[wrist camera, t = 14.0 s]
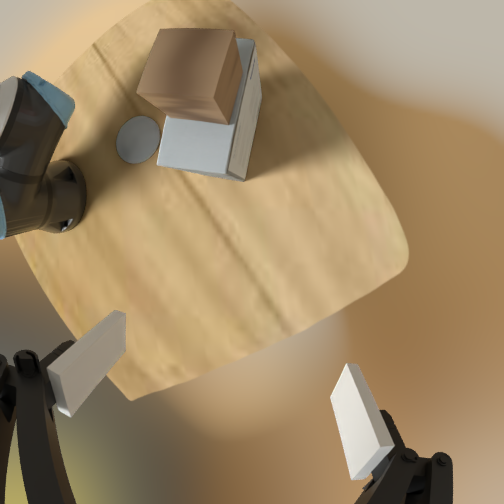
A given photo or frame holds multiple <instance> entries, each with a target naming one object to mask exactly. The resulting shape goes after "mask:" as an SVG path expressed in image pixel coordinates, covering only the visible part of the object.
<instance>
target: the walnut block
mask: <svg viewBox="0 0 504 504" xmlns="http://www.w3.org/2000/svg"><path fill="white" fill-rule="evenodd" d="M242 74H243V70H242V65H241V60H240V55H239V51H238V46H237V41H236V37H235V32H234V30H221V29H200V28H173V29H160V30H159V32H158V35H157V37H156V39H155V42H154V44H153V47H152V49H151V52H150V54H149V57H148V60H147V62H146V65H145V68H144V71H143V73H142V76H141V79H140V82H139V85H138V88H137V91H136V93H137V94H139V95H140V96H141V97H143V98H144V99H146V100H147V101H148V102H150V103H151V104H152V105H154V106H155V107H157V108H158V109H159V110H161V111H162V112H163V113H165V114H166V115H167V116H169V117H170V118H176V119H186V120H194V121H202V122H209V123H216V124H223V125H229V123H230V119H231V115H232V111H233V107H234V104H235V100H236V96H237V92H238V88H239V85H240V81H241V77H242Z"/></svg>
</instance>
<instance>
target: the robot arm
mask: <svg viewBox="0 0 504 504" xmlns="http://www.w3.org/2000/svg"><path fill="white" fill-rule="evenodd" d="M74 109H75V102H74V100H73V98H71V97H70V96H69V95H67V94H66V93H65V92H63V91H62V90H60V89H59V88H57V87H55V86H54V85H52V84H51V83H49V82H47V81H45V80H44V79H42V78H41V77H39V76H38V75H36V74H34V73H32V72H30V71H28V72H26V73H25V74H24V75H23V76H22V79H20V78H17V77H15V76H12V77H10V78H8V79H6V80H5V81H3V82H2V83H0V239H3V238H6V237H9V236H13V235H17V234H20V233H24V232H28V231H32V230H36V229H39V230H43V231H47V232H51V233H62V232H66V231H69V230H71V229H72V228H73V227H75V226H76V224H77V223H78V222H79V220H80V219H81V217H82V214H83V212H84V208H85V203H86V185H85V181H84V177H83V175H82V173H81V171H80V170H79V168H78V167H77V166H76V165H75V164H73V163H72V162H69V161H62V160H58V161H53V162H51V163H50V160H51V158H52V155H53V153H54V151H55V149H56V146H57V144H58V142H59V140H60V138H61V136H62V134H63V132H64V130H65V129H66V128H67V126H68V125H67V124H68V122H69V120H70V118H71V115H72V113H73V111H74ZM125 334H126V313H123V312H120V311H117V310H114V311H113V312H112V313H110V314H109V315H108V316H107V317H105V318H104V319H103V320H102V321H101V322H99V323H98V324H97V325H96V326H95V327H93V328H92V329H91V330H90V331H89V332H87V333H86V334H85V335H84V336H83V337H81V338H80V339H79V340H78V341H77V342H74V341H72V340H69V341H66V342H64V343H62V344H61V345H59V346H58V347H57V349H55V350H53V351H52V353H50V354H48V355H47V356H46V357H45V358H44V359H42V360H41V361H40V362H39V359H38V356H37V354H36V353H35V352H33V351H31V350H21V351H19V352H17V353H16V354H15V355H14V357H13V360H14V363H15V367H14V366H11V365H8V363H7V359H6V358H5V356H3V355H1V354H0V504H5V485H6V473H7V466H8V458H9V452H10V446H11V441H12V436H13V431H14V426H15V422H16V419H17V435H18V448H19V456H20V464H21V470H22V475H23V481H24V486H25V491H26V495H27V500H28V504H76V501H75V498H74V496H73V493H72V490H71V487H70V483H69V480H68V477H67V473H66V470H65V466H64V462H63V458H62V454H61V450H60V446H59V441H58V435H57V430H56V424H55V418H54V411H53V409H52V406H53V405H54V404H55V403H56V404H57V407H58V409H59V411H61V412H63V413H64V414H66V415H68V416H69V417H72V415H73V414H74V413H75V412H76V410H77V409H78V408H79V407H80V405H81V404H82V403H83V402H84V400H85V399H86V398H87V397H88V395H89V394H90V393H91V392H92V391H93V389H94V388H95V387H96V386H97V384H98V383H99V382H100V381H101V380H102V379H103V377H104V376H105V375H106V374H107V372H108V371H109V370H110V369H111V368H112V367H113V365H114V364H115V363H116V362H117V361H118V359H119V358H120V357H121V356H122V355H123V353H124V352H125V351H126V344H125ZM330 398H331V402H332V405H333V409H334V413H335V417H336V420H337V424H338V428H339V432H340V436H341V439H342V444H343V448H344V452H345V456H346V460H347V464H348V468H349V473H350V477H351V480H358V479H365V478H366V477H367V476H368V475H369V474H370V473H372V476H373V479H372V480H371V481H370V482H369V483H368V484H367V485H366V486H365V487H363V489H364V491H363V492H362V494H361V495H360V497H359V498H358V499H357V501H356V502H355V504H453V465H452V460H451V458H450V456H448V455H447V454H446V453H443V452H438V453H435V454H434V455H433V456H432V458H422V457H419V456H418V454H417V453H416V452H415V451H414V450H412V449H409V448H406V447H405V445H404V443H403V440H402V438H401V436H400V434H399V432H398V430H397V428H396V426H395V424H394V421H393V419H392V417H391V416H390V414H388V413H387V411H386V410H379V409H378V406H377V404H376V402H375V400H374V398H373V396H372V393H371V391H370V389H369V387H368V385H367V383H366V381H365V379H364V376H363V374H362V372H361V370H360V368H359V366H358V365H357V364H351V363H346V365H345V367H344V369H343V372H342V374H341V376H340V378H339V380H338V382H337V384H336V386H335V388H334V391H333V392H332V395H331V396H330Z"/></svg>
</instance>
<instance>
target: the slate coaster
mask: <svg viewBox="0 0 504 504" xmlns="http://www.w3.org/2000/svg"><path fill="white" fill-rule="evenodd" d="M159 141H160V130H159V127H158V125H157V124H156V122H155V121H154V120H152V119H151V118H149V117H146V116H137V117H134V118H131V119H130V120H128V121H127V122H126V123H125V124H124V125H123V126H122V127H121V129H120V131H119V133H118V135H117V140H116V148H117V152H118V154H119V156H120V157H121V158H122V159H123V160H124V161H126V162H128V163H134V164H136V163H141V162H144V161H146V160H147V159H149V158H150V157H151V156H152V155H153V154H154V152H155V151H156V149H157V147H158V145H159Z"/></svg>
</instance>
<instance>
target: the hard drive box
mask: <svg viewBox="0 0 504 504" xmlns="http://www.w3.org/2000/svg"><path fill="white" fill-rule="evenodd" d="M236 41H237V46H238V51H239V55H240V60H241V65H242V70H243V74H242V77H241V81H240V85H239V88H238V92H237V96H236V100H235V104H234V107H233V111H232V115H231V119H230V123H229V125H223V124H216V123H209V122H202V121H194V120H186V119H176V118H170V117H169V116H166V120H165V125H164V129H163V134H162V139H161V144H160V149H159V155H158V160H157V165H160V166H164V167H169V168H173V169H178V170H183V171H188V172H193V173H198V174H201V175H206V176H212V177H218V178H224V179H230V180H236V181H242V182H244V181H245V178H246V172H247V167H248V162H249V157H250V152H251V147H252V143H253V138H254V133H255V129H256V124H257V119H258V115H259V110H260V105H261V100H262V92H261V83H260V76H259V68H258V59H257V51H256V44H255V42H254V40H252V39H242V38H236Z"/></svg>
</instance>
